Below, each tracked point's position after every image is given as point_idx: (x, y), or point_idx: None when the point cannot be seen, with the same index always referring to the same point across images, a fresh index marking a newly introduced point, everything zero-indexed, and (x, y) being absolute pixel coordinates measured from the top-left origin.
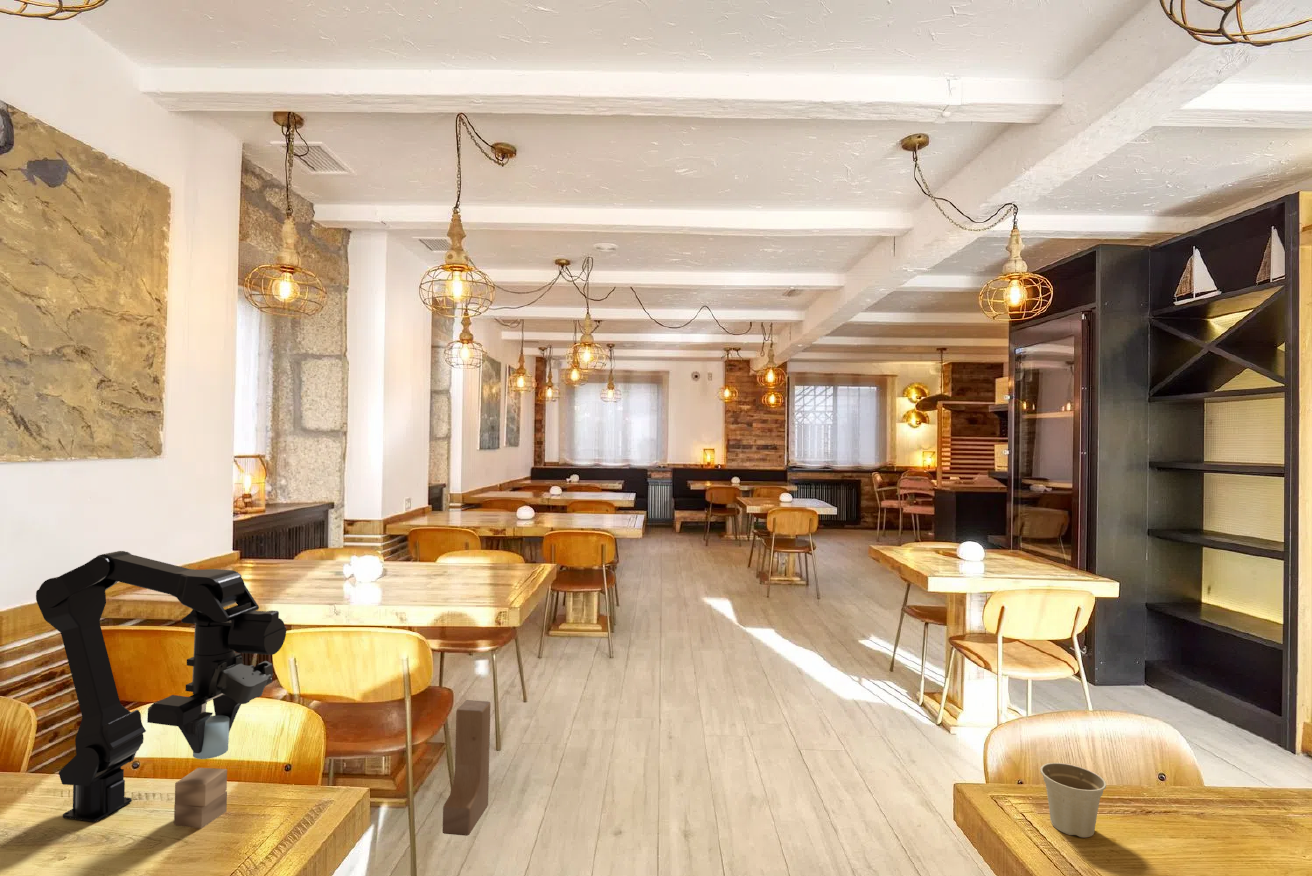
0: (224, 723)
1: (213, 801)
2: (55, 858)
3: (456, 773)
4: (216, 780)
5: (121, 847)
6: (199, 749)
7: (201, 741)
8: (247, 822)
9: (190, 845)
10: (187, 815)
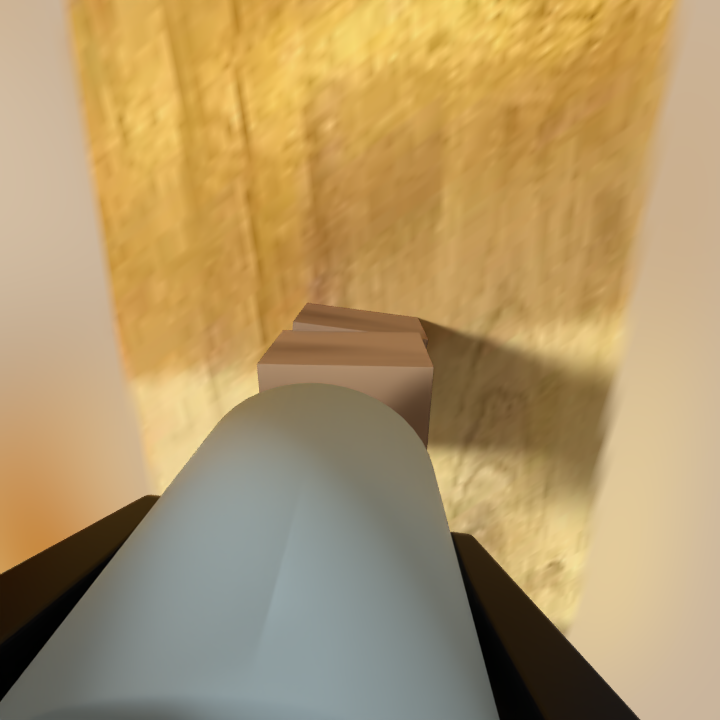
0: (260, 691)
1: (366, 330)
2: (554, 579)
3: None
4: (345, 358)
5: (516, 474)
6: (490, 558)
7: (522, 626)
8: (372, 167)
9: (520, 285)
10: None
